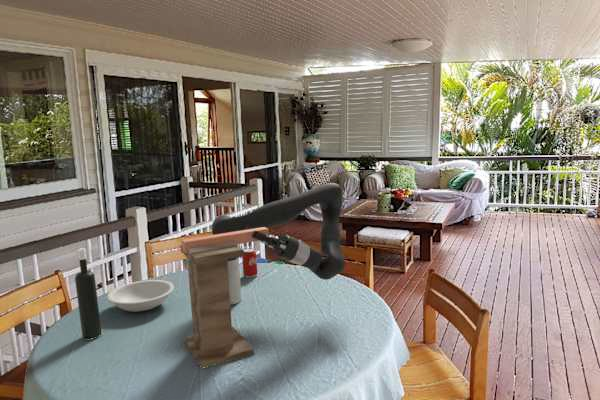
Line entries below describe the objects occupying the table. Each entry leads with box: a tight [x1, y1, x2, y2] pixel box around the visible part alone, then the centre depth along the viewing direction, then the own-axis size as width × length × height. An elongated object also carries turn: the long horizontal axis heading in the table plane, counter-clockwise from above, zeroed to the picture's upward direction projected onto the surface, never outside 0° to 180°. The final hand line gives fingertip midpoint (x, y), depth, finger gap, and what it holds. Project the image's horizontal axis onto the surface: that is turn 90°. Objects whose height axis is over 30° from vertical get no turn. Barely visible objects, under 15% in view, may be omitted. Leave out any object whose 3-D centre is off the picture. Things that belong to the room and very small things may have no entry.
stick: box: [181, 227, 270, 253], centre depth 137 cm, size 3×26×3 cm, turn 119°
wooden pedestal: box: [179, 241, 255, 369], centre depth 138 cm, size 18×16×33 cm
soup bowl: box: [106, 279, 175, 312], centre depth 174 cm, size 24×24×7 cm
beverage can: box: [241, 248, 258, 279], centre depth 204 cm, size 6×6×12 cm
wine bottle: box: [74, 247, 102, 340], centre depth 149 cm, size 6×6×30 cm
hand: (249, 231), depth 140 cm, fingers open, 5 cm apart
